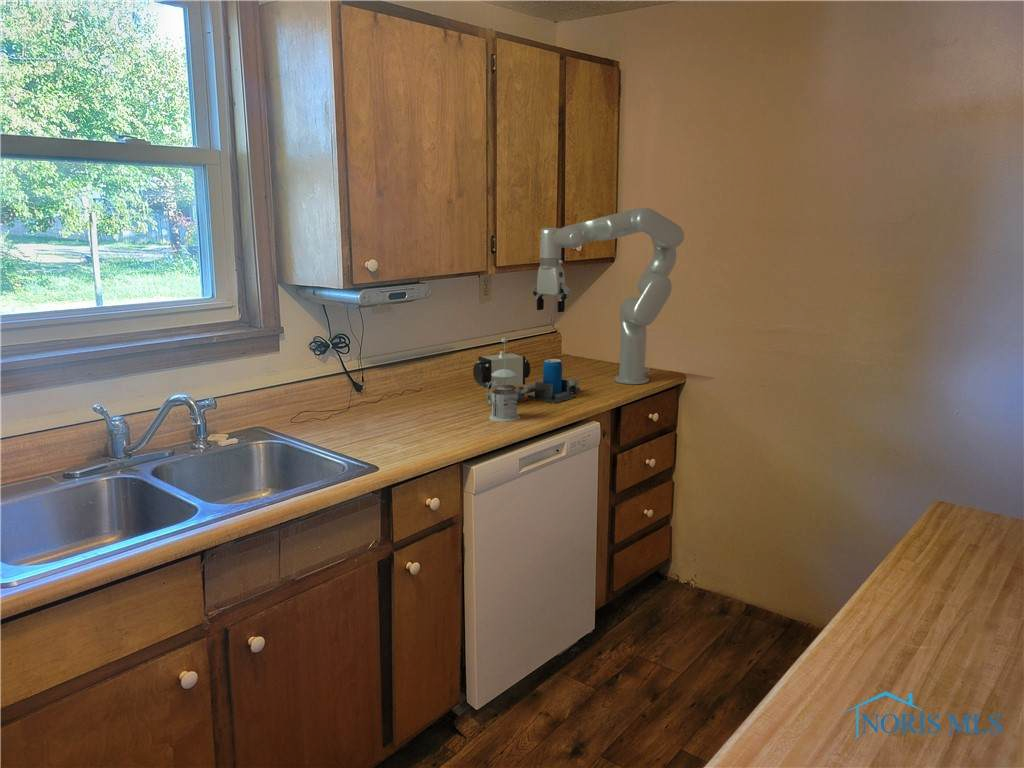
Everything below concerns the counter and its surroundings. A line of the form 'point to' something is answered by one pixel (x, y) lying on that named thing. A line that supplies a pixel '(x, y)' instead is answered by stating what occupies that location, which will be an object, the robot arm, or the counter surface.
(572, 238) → the robot arm
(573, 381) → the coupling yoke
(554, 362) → the beverage can
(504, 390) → the french press
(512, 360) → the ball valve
